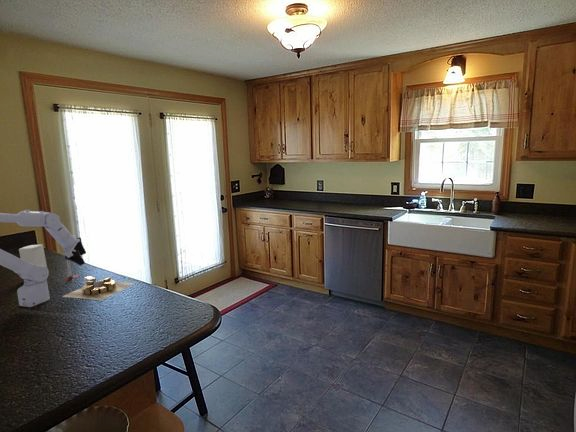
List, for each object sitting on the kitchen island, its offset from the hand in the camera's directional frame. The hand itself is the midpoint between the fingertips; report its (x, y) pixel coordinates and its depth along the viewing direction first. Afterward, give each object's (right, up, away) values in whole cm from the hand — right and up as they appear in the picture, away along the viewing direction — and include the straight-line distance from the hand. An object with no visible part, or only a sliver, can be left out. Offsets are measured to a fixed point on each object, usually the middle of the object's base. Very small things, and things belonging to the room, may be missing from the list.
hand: (83, 258), depth 154 cm
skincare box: (-32, -11, +17) cm, 38 cm away
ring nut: (+9, -12, -6) cm, 16 cm away
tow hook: (-9, -11, +12) cm, 19 cm away
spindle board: (+11, -13, -6) cm, 18 cm away
